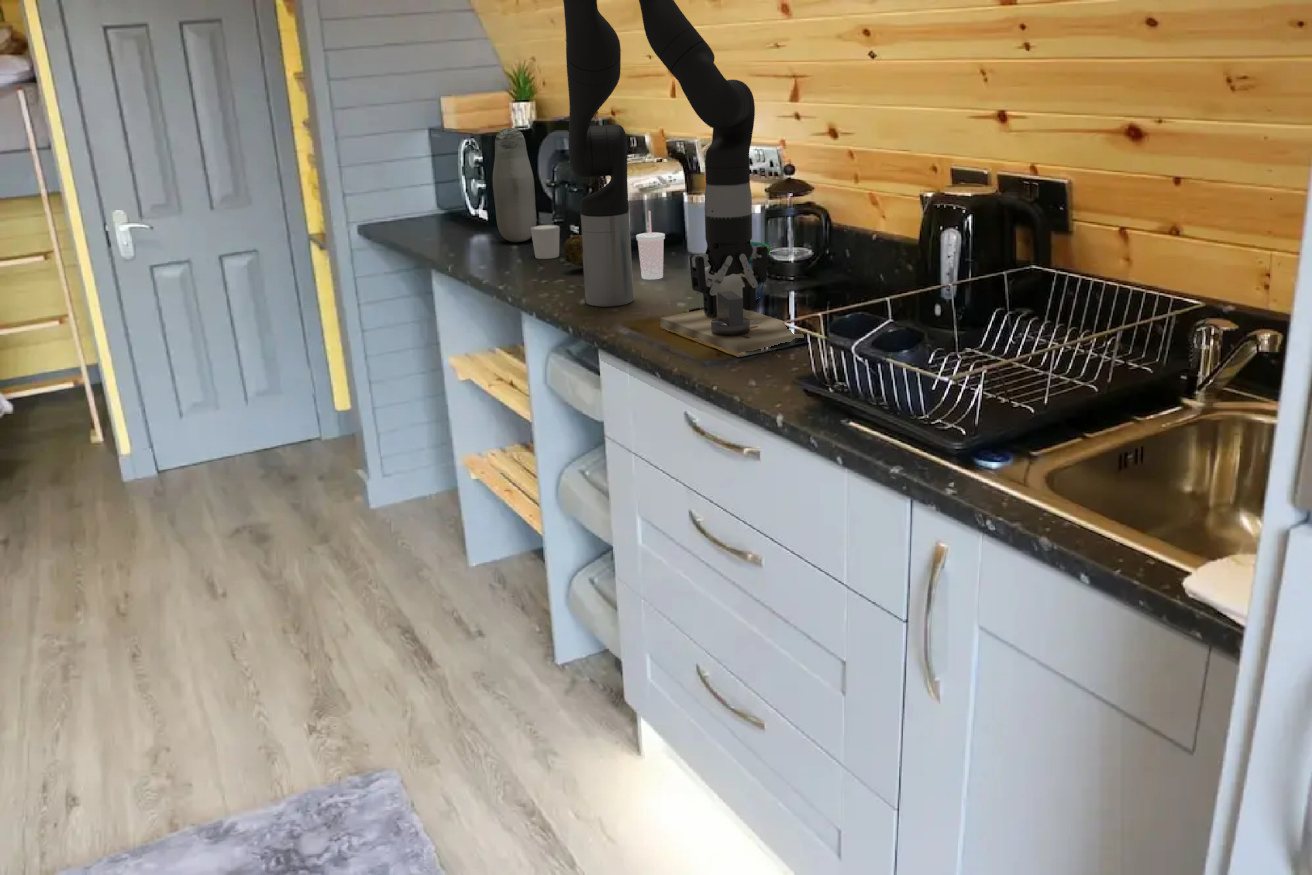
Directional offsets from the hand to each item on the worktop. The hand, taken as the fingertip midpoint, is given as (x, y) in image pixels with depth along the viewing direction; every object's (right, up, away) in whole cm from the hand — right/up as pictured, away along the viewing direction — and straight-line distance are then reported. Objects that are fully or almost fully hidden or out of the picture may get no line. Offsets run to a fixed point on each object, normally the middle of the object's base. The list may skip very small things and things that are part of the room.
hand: (730, 312), depth 183 cm
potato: (-26, +17, +64) cm, 71 cm away
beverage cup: (-13, +13, +54) cm, 57 cm away
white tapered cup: (-38, +22, +80) cm, 92 cm away
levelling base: (+1, -3, +7) cm, 7 cm away
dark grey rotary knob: (+1, -3, +1) cm, 3 cm away
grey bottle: (-47, +29, +101) cm, 115 cm away
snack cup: (+5, +6, +32) cm, 32 cm away
